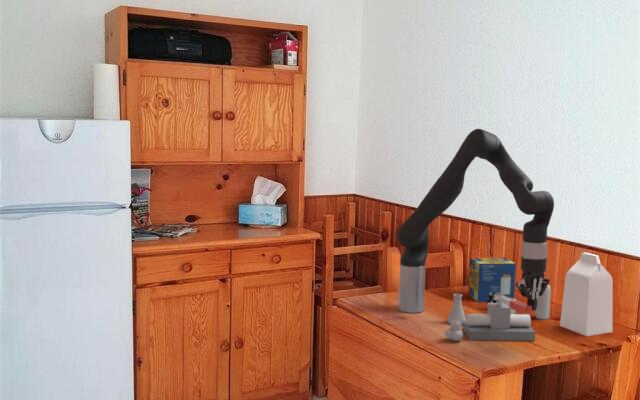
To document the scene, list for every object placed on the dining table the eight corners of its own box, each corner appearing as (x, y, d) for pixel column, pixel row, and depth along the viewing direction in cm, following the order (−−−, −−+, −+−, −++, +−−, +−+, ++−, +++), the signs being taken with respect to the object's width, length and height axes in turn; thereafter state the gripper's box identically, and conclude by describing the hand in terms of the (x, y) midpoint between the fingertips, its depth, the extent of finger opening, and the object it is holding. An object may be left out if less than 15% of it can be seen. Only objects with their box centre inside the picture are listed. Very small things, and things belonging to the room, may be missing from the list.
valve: (521, 317, 236) (499, 308, 247) (522, 299, 235) (500, 291, 246) (506, 319, 233) (485, 310, 244) (507, 301, 232) (486, 293, 243)
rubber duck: (467, 341, 208) (468, 317, 207) (450, 344, 205) (451, 320, 204) (456, 336, 213) (457, 313, 212) (439, 339, 210) (440, 315, 209)
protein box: (468, 295, 265) (469, 257, 263) (504, 294, 267) (506, 257, 265) (476, 302, 255) (478, 263, 253) (514, 301, 256) (516, 262, 255)
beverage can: (532, 316, 237) (534, 283, 236) (545, 315, 237) (547, 283, 236) (538, 320, 232) (540, 287, 231) (551, 319, 233) (553, 286, 231)
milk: (559, 325, 226) (563, 252, 223) (585, 322, 230) (589, 249, 227) (586, 336, 215) (591, 258, 212) (612, 332, 219) (617, 256, 216)
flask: (468, 320, 230) (469, 293, 229) (465, 326, 224) (467, 298, 222) (448, 318, 233) (448, 291, 232) (444, 324, 226) (445, 296, 225)
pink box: (492, 299, 215) (492, 293, 214) (500, 299, 216) (501, 292, 215) (522, 313, 199) (523, 306, 199) (531, 313, 200) (532, 306, 200)
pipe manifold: (469, 339, 210) (470, 305, 209) (462, 329, 221) (463, 296, 219) (534, 340, 210) (536, 306, 208) (524, 330, 220) (526, 297, 219)
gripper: (539, 251, 208) (537, 304, 210) (509, 255, 201) (507, 310, 203) (558, 255, 201) (556, 309, 203) (528, 260, 195) (526, 316, 197)
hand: (531, 310), depth 203 cm, fingers closed
